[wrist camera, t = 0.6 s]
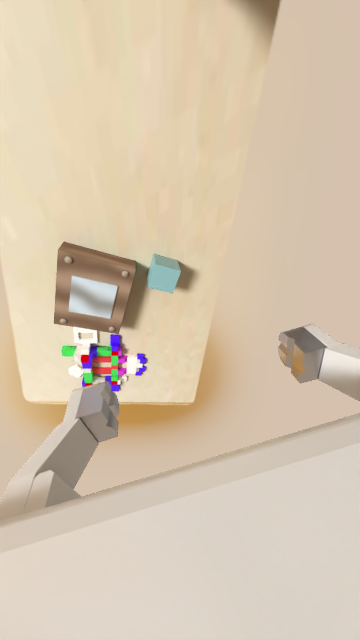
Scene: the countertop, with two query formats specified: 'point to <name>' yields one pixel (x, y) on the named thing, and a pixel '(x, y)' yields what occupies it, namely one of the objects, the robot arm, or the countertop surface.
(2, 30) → the countertop surface
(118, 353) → the building block set
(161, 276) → the teal block
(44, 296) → the countertop surface
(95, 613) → the robot arm
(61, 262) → the plinth
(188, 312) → the countertop surface
